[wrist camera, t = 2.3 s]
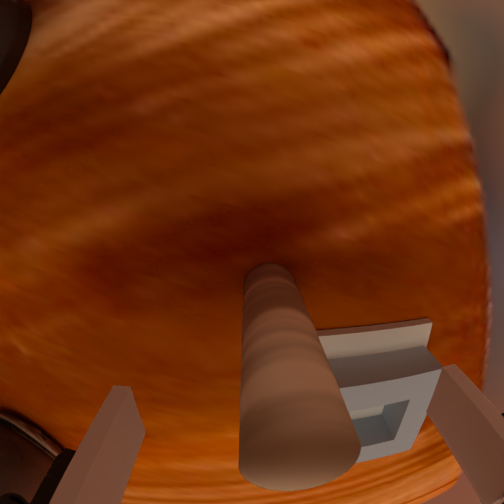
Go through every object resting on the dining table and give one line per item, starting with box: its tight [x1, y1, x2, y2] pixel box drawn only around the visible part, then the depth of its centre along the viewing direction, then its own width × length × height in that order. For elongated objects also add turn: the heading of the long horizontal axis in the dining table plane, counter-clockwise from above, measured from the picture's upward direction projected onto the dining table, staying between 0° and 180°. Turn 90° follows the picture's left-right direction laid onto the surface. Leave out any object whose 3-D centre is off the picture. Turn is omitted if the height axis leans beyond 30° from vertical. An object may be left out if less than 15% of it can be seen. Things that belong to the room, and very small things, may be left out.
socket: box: [316, 318, 443, 463], centre depth 24 cm, size 16×12×5 cm
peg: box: [239, 263, 361, 491], centre depth 16 cm, size 4×4×16 cm
